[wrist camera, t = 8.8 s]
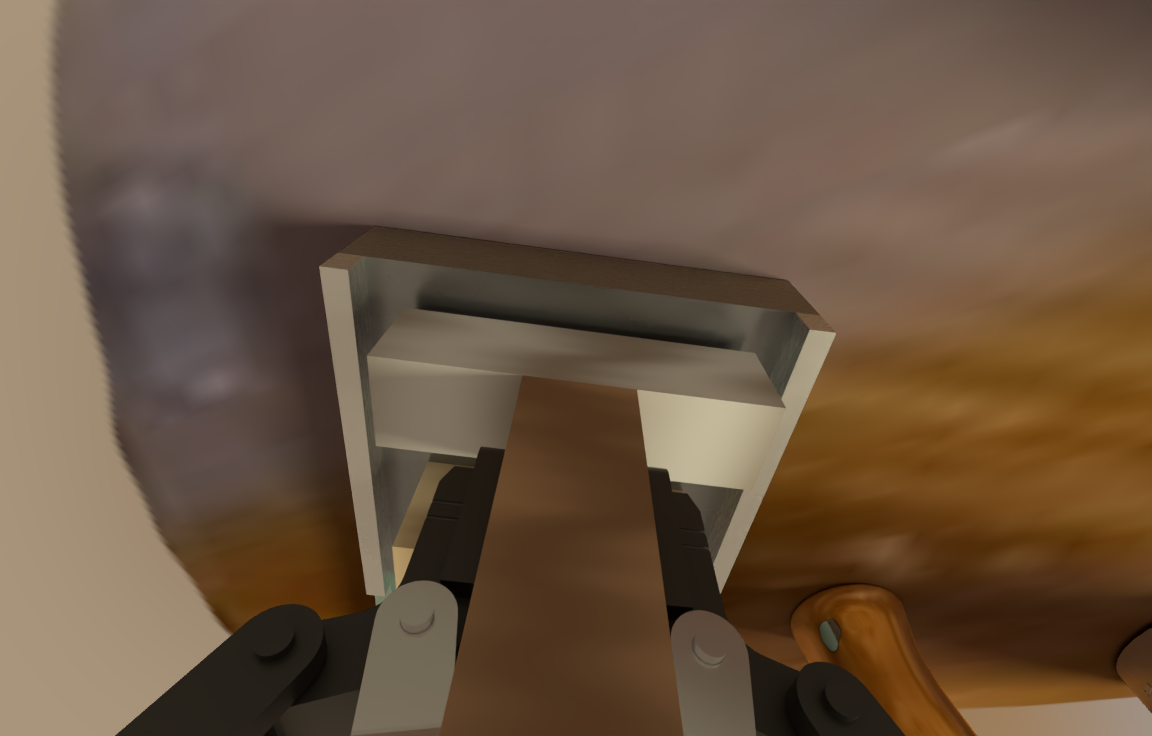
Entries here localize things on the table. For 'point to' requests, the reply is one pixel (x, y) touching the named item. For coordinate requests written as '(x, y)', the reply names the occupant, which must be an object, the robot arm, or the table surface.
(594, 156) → the table surface
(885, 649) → the beer glass
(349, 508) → the table surface
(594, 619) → the rake tool
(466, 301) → the open box
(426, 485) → the maple cube
